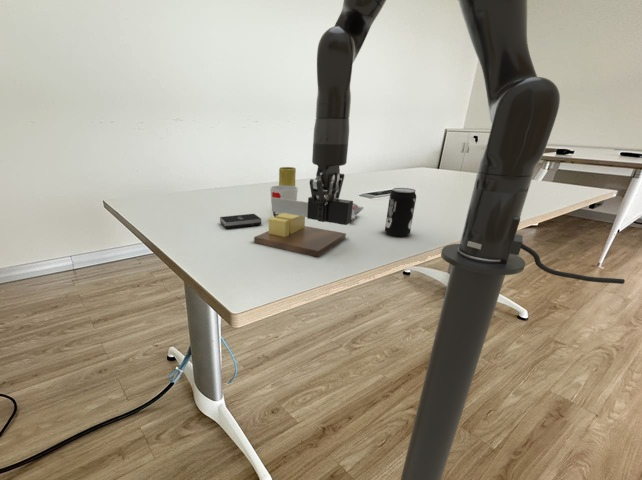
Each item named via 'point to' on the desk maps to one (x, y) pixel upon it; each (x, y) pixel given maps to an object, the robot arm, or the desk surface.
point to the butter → (293, 221)
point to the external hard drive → (240, 221)
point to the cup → (283, 194)
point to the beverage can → (400, 212)
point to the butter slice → (279, 226)
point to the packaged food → (355, 210)
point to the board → (303, 240)
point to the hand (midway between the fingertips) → (325, 219)
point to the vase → (287, 176)
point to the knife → (316, 209)
